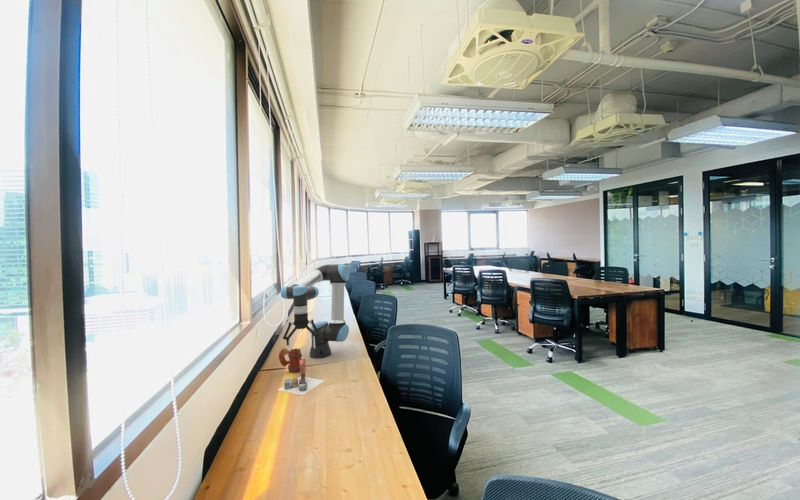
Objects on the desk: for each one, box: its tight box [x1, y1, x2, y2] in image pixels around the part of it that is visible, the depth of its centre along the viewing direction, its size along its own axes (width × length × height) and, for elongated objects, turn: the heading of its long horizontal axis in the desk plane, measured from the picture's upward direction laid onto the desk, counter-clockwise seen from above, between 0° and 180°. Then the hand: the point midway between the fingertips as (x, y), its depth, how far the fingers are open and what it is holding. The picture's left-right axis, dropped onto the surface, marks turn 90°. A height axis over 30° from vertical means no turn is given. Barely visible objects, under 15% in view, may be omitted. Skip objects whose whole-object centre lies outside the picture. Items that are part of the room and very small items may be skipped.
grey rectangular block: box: [283, 378, 292, 390], centre depth 176 cm, size 5×3×4 cm, turn 17°
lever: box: [299, 358, 307, 390], centre depth 179 cm, size 18×4×10 cm, turn 16°
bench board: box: [277, 376, 326, 396], centre depth 179 cm, size 19×17×2 cm
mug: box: [278, 347, 303, 374], centre depth 200 cm, size 15×8×15 cm, turn 84°
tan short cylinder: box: [291, 378, 298, 388], centre depth 177 cm, size 4×4×4 cm
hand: (302, 349), depth 186 cm, fingers open, 13 cm apart
